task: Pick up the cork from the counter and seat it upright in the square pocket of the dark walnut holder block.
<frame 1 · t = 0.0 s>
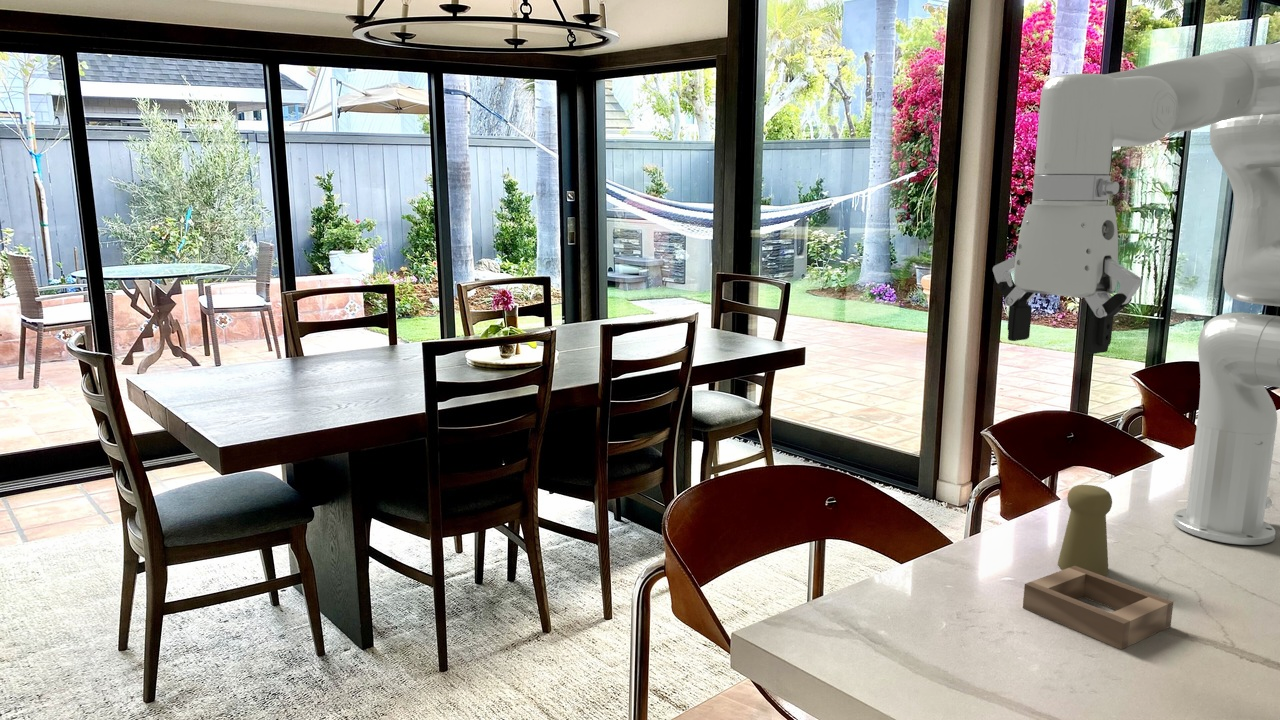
hand: (1056, 345, 106), 31 cm above the kitchen island, tool pointing down, fingers open, 9 cm apart
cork: (1082, 569, 122), on the kitchen island
walnut holder: (1095, 616, 108), on the kitchen island
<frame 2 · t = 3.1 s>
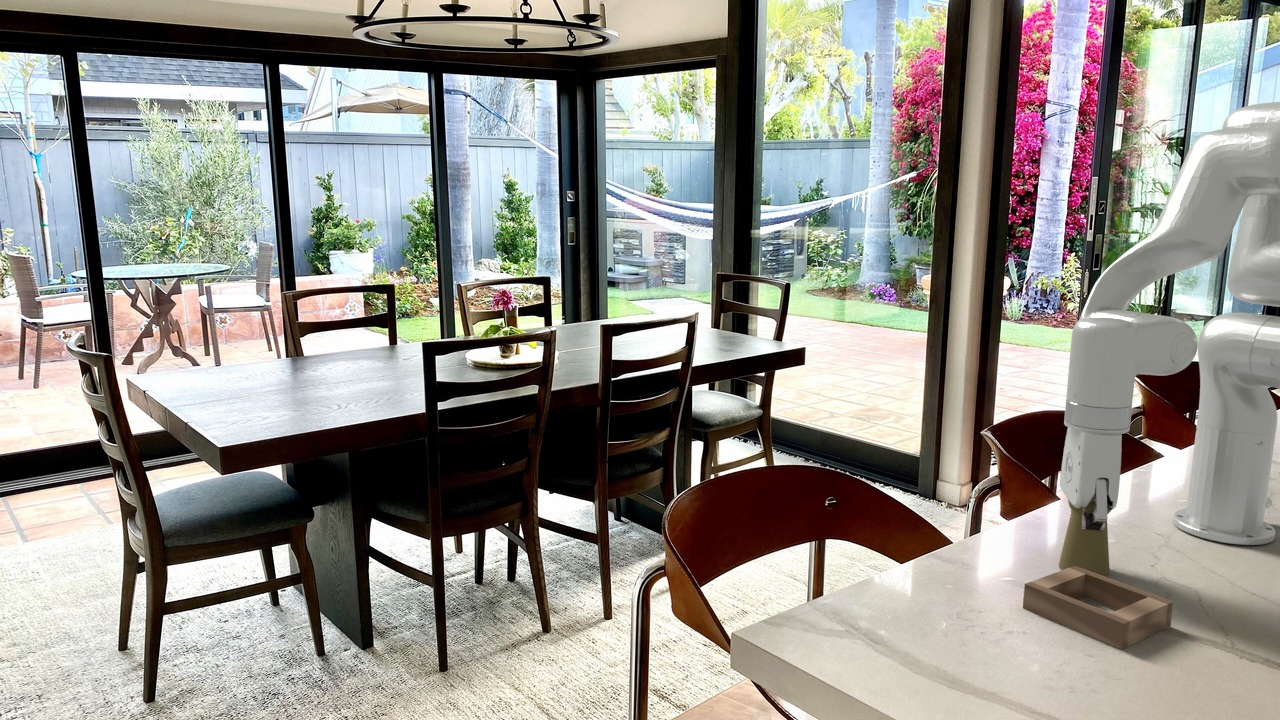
hand: (1084, 551, 122), 2 cm above the kitchen island, tool pointing down, fingers closed on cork, 2 cm apart
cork: (1083, 570, 122), on the kitchen island, touching gripper
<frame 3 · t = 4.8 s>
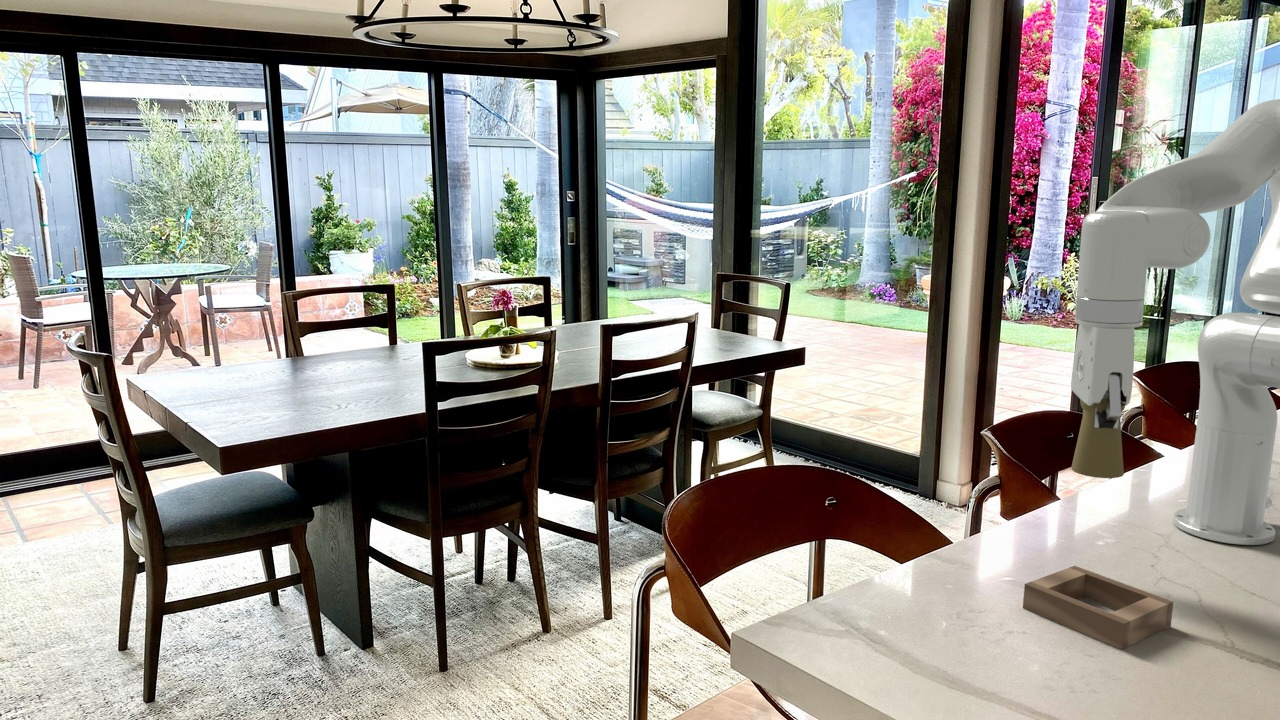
hand: (1097, 453, 120), 15 cm above the kitchen island, tool pointing down, fingers closed on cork, 2 cm apart
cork: (1097, 472, 119), point 13 cm above the kitchen island, touching gripper
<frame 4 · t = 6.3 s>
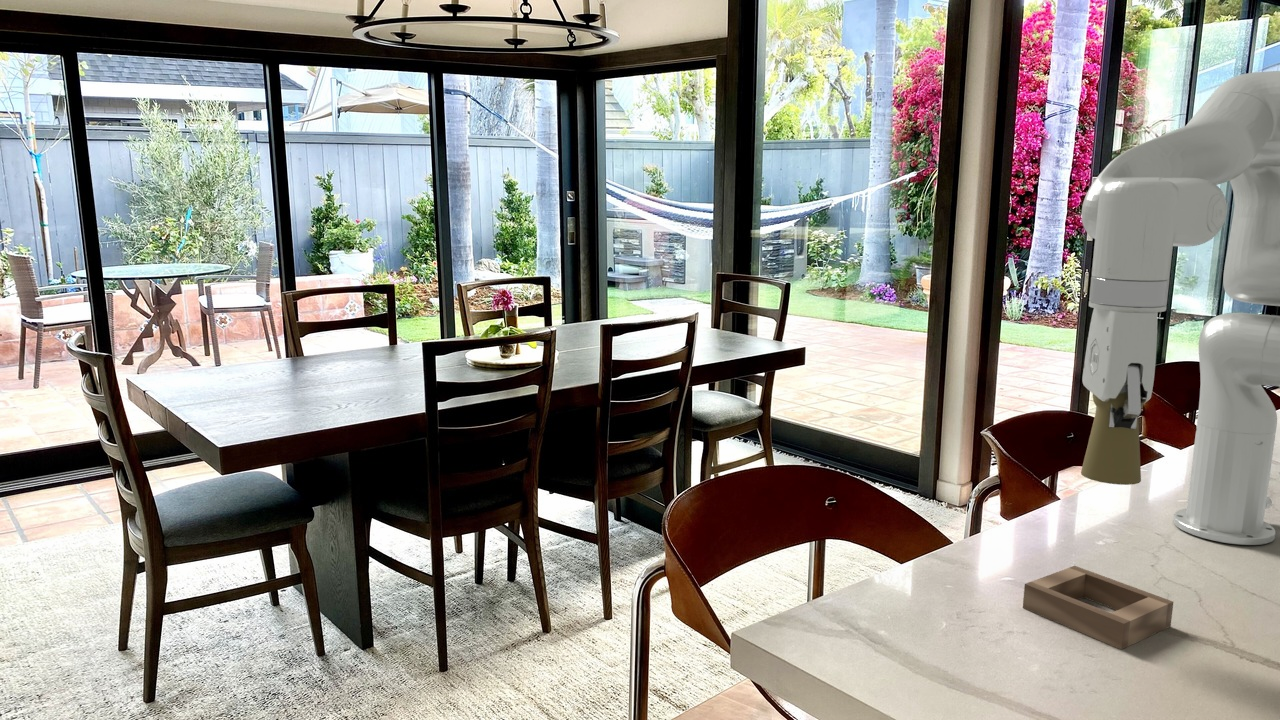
hand: (1111, 456, 105), 19 cm above the kitchen island, tool pointing down, fingers closed on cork, 2 cm apart
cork: (1110, 478, 105), point 17 cm above the kitchen island, touching gripper
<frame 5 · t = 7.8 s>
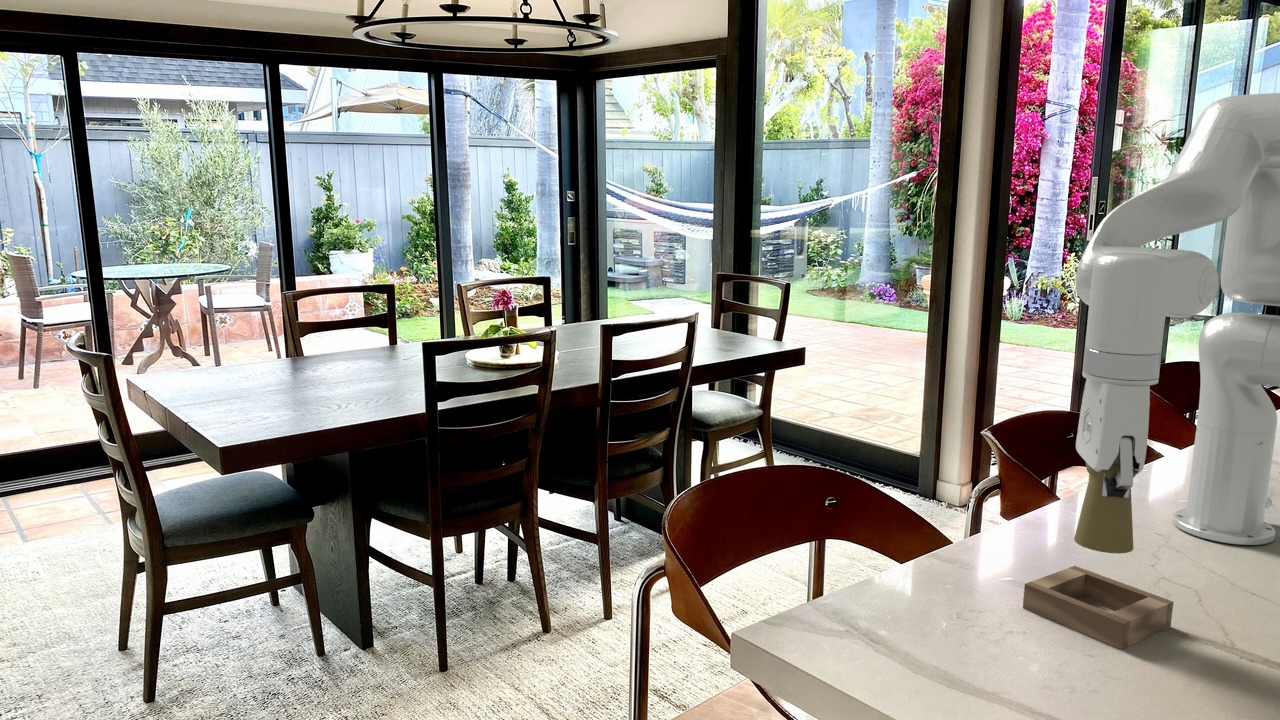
hand: (1104, 523, 106), 11 cm above the kitchen island, tool pointing down, fingers closed on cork, 2 cm apart
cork: (1103, 545, 106), point 9 cm above the kitchen island, touching gripper
when the fingers open (5 cm above the kitchen island, at t = 9.3 s): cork drops 2 cm, resting in walnut holder.
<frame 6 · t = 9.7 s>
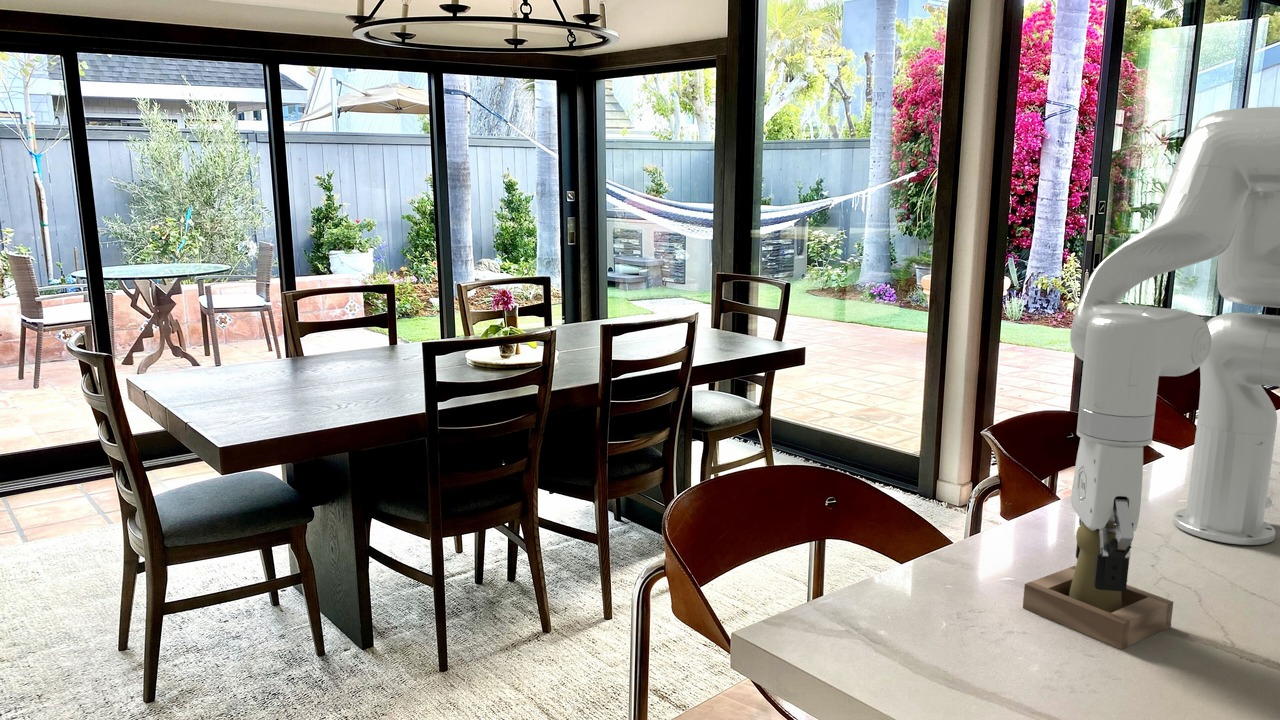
hand: (1099, 573, 107), 5 cm above the kitchen island, tool pointing down, fingers open, 7 cm apart
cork: (1093, 615, 109), resting in walnut holder
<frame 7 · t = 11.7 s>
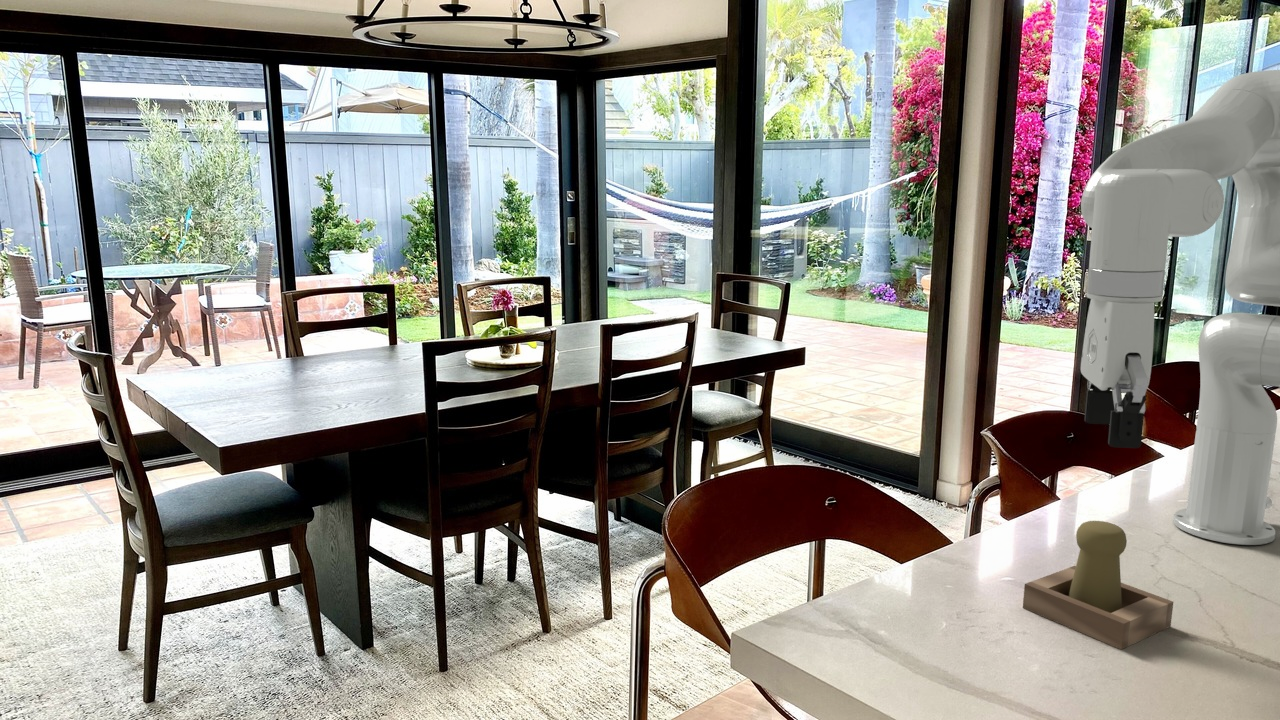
hand: (1111, 434, 107), 21 cm above the kitchen island, tool pointing down, fingers open, 9 cm apart
nothing on the kitchen island moved.
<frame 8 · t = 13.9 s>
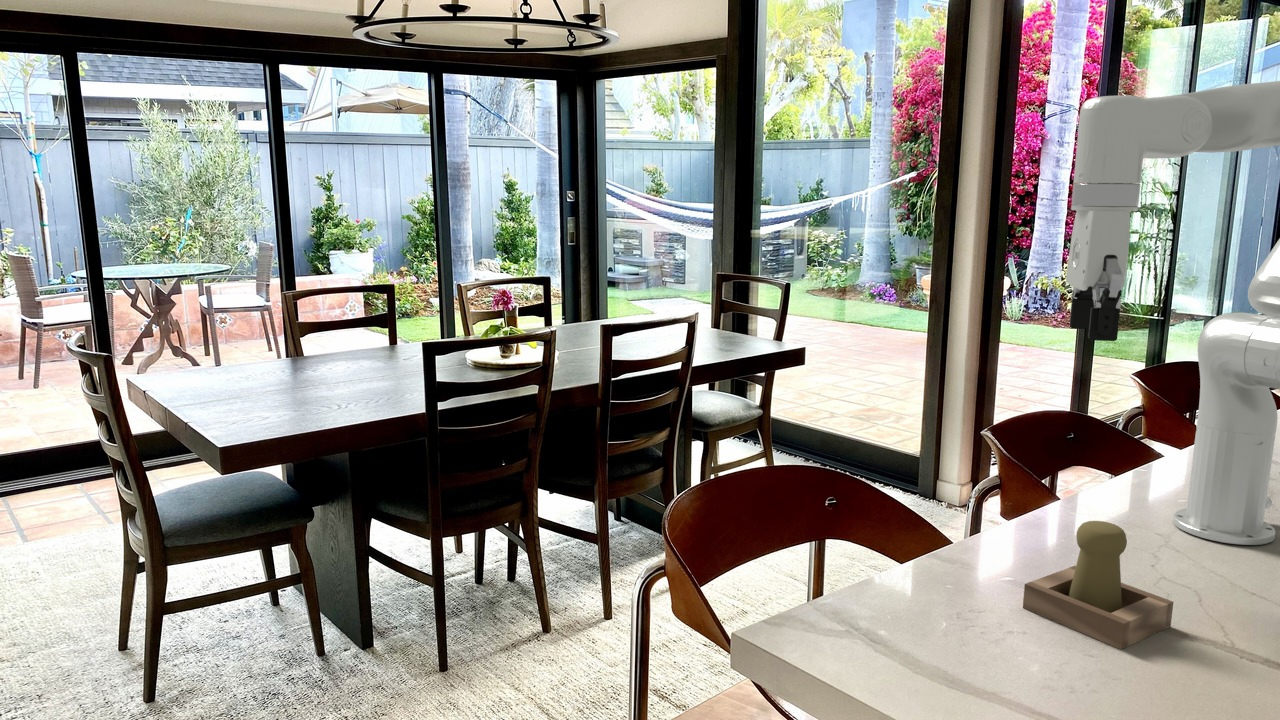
hand: (1092, 334, 120), 30 cm above the kitchen island, tool pointing down, fingers open, 9 cm apart
nothing on the kitchen island moved.
at the end: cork 0.8 cm off-centre on the walnut holder, point 0.0 cm above the walnut holder's base; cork tilted 0°; the gripper is holding nothing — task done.
